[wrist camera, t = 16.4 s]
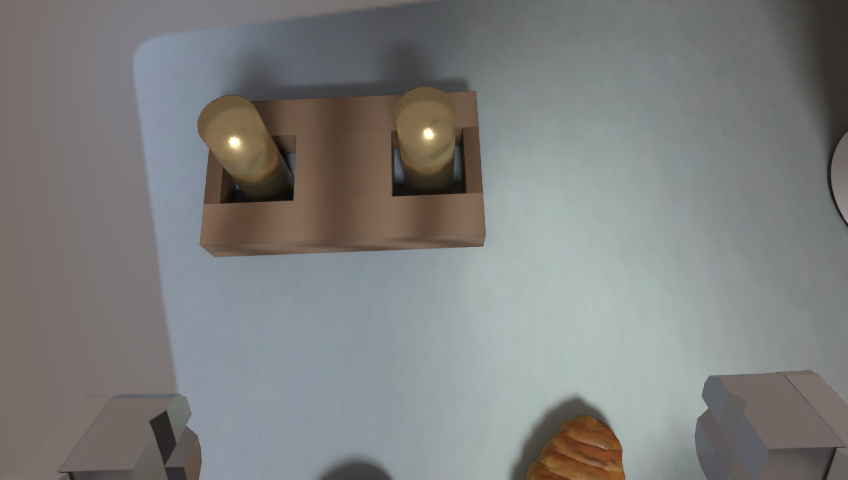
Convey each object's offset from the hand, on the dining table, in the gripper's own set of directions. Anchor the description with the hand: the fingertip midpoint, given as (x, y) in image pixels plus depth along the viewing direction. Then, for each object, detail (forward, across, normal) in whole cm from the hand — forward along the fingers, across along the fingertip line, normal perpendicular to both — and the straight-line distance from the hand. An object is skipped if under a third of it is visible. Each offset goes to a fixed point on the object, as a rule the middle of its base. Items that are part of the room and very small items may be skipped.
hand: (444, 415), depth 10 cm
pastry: (+22, -8, +27) cm, 36 cm away
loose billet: (+39, 0, +10) cm, 40 cm away
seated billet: (+39, +13, +10) cm, 42 cm away
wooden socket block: (+39, +7, +10) cm, 41 cm away
